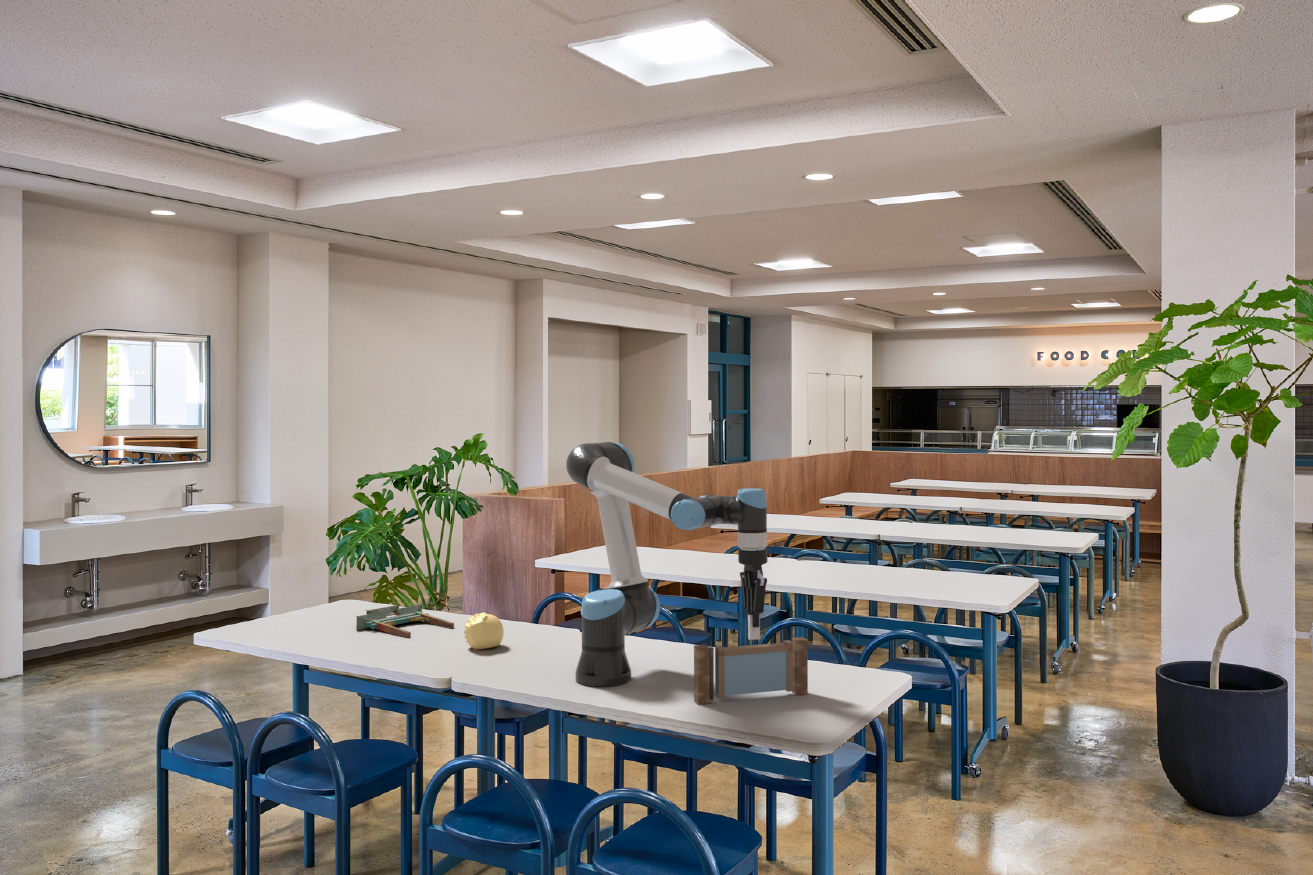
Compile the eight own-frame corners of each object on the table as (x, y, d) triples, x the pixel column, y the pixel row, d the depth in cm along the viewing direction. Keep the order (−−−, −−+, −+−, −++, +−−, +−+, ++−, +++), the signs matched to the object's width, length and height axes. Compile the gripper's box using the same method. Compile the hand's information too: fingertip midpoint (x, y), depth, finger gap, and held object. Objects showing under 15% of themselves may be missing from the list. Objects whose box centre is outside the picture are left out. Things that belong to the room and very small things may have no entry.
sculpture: (462, 644, 300) (462, 610, 300) (501, 641, 303) (501, 608, 303) (465, 653, 289) (465, 617, 289) (505, 650, 292) (505, 615, 292)
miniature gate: (397, 630, 306) (344, 611, 325) (396, 646, 306) (343, 627, 325) (463, 616, 327) (410, 599, 346) (462, 632, 327) (409, 614, 346)
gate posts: (698, 704, 235) (697, 648, 235) (694, 701, 238) (693, 645, 238) (807, 694, 243) (807, 639, 243) (802, 691, 246) (802, 637, 246)
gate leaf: (718, 697, 237) (718, 648, 236) (715, 694, 239) (715, 645, 239) (792, 691, 242) (792, 642, 242) (788, 688, 245) (788, 640, 245)
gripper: (776, 550, 242) (777, 643, 243) (756, 544, 255) (757, 632, 255) (748, 552, 240) (750, 645, 240) (730, 546, 253) (731, 634, 253)
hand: (754, 638), depth 248 cm, fingers closed
